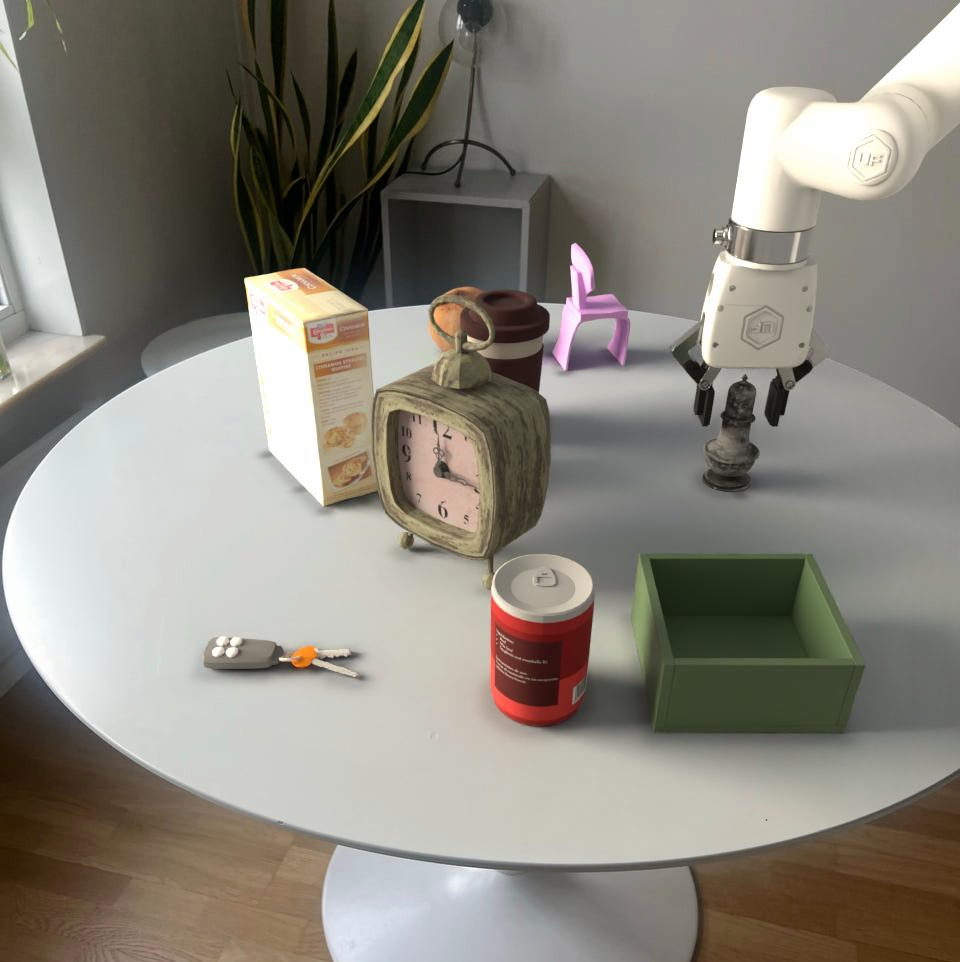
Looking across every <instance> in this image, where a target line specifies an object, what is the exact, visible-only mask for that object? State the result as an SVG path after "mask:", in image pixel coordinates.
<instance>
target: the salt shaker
mask: <svg viewBox="0 0 960 962" xmlns="http://www.w3.org/2000/svg"><path fill="white" fill-rule="evenodd" d="M740 378H741V380H739V381H736V382H733V383H731V385H730V386H729V388H728V390H727V394H726V395H727V396H726V401H725V409H724V410H723V411H722V412H720V413H719V418H720V419H721V426H720V432H719V434H718V437H715V438H712V439H709V440H708V441H707V442H705V443H704V445H703V452H704V453H705V461H706V463H707V466H708V469H706V470H704V471H703V472H702V474H701V480H702V482H703V484H705V485H706V486H708V487H709V488H711V489H714V490H716V491H721V492H725V493H726V492H727V493H735V492H742V491H745V490H747V489H749V488H750V487H751V485H752V478H751V477H750V475H749V474H748V472H749V471H751V470H752V468H753V467H754V465H755V463H756V461H757V460H758V459H759V458H760V456H761V451H760V449H759V447H758V446H757V445H755V443H753V442H751V441H750V434H751V428H752V424H753V423H754V422H755V421H756V416H755V414H754V409H755V408H754V407H755V403H756V397H757V388H756V387H755V385H754V384H753V383H752V382H749V381H748V380H749V377H748V375H747V374H746V373H745V374H743V375H742V376H741V377H740Z"/></svg>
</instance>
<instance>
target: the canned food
mask: <svg viewBox="0 0 960 962" xmlns="http://www.w3.org/2000/svg"><path fill="white" fill-rule="evenodd" d="M494 573H495V574H494V576H493V580H492V587H491V590H490V676H489V677H490V681H489V682H490V693H491V695H492V698H493V701H494V703H495V705H496V707H497V709H498V710H499V711H500V712H501V713H502V714H503V715H504V716H505V717H507V718H509V719H510V720H512V721H514V722H516V723H519V724H522V725H527V726H533V727H548V726H554V725H558V724H560V723H562V722H563V723H564V721H567V720H568V719H570V718H571V717H573V715H575V714H576V713H577V712H578V710H579V709H580V707H581V706H582V703H583V701H584V699H585V696H586V690H587V681H588V672H589V671H588V670H589V661H590V652H591V651H590V650H591V642H592V640H591V639H592V631H593V621H594V609H595V597H596V588H595V587H596V586H595V585H596V584H595V579H594V577H593V576H592V574H591V572H590V571H589V570H588V569H587V568H586V567H585V566H583V565H582V564H581V563H579V562H577V561H575V560H573V559H571V558H568V557H565V556H562V555H558V554H557V555H556V554H551V553H531V554H525V555H520V556H518V557H515V558H512V559H510V560H508V561H506V562H505V563H503V564H501V566H500V567H499V568H497V570H496V571H495V572H494Z"/></svg>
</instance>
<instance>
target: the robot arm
mask: <svg viewBox="0 0 960 962" xmlns="http://www.w3.org/2000/svg"><path fill="white" fill-rule="evenodd" d="M745 119H746V120H745V125H744V133H743V140H742V145H741V152H740V158H739V165H738V171H737V179H736V185H735V192H734V198H733V204H732V211H731V216H730V217H729V218H728V223H726V226H722V227H721V228H713V232H712V244H713V245H720V246H721V247H722V246H723V247H724V248H725V249H726V250H722V251H720V252H719V253H718V256H717V258H716V261H715V264H714V267H713V270H712V272H711V276H710V280H709V283H708V287H707V291H706V294H705V298H704V302H703V306H702V311H701V315H700V320H699V321H698V322H697V323H695V324H694V325H693V326H692V327H690V328H689V329H688V330H687V331H686V332H684V333H683V334H682V335H681V336H679V338H678V339H676V340H675V341H673V343H672V344H670V346H669V351H670V353H671V356H672V357H673V358H674V359H675V361H677V363H678V364H679V365H680V366H681V367H682V368H683V370H684V371H685V372H686V374H687V375H688V376H689V377H690V378H691V379H692V380H693V381H694V382H695V384H696V389H695V395H694V403H693V414H694V416H697V417H698V420H699V422H700V425H701V427H703V428H705V427H706V428H708V427H709V426H710V425H711V420H712V415H713V408H714V402H715V395H716V391H715V388H714V386H713V385H714V382H715V380H716V378H717V377H718V375H719V374H720V373H721V370H722V369H728V370H729V369H734V370H735V369H738V370H740V369H742V370H775V373H776V376H775V377H774V378H772V379H771V381H770V382H769V387H768V392H767V397H766V401H765V402H766V403H765V407H764V417H765V418H766V419H765V420H766V421H767V423H768V424H769V426H771V427H773V428H778V427H779V424H780V418H781V416H785V414H786V409H787V404H788V400H789V395H790V391H792V390H793V389H794V388H795V387H796V385H797V383H798V382H800V381H801V380H802V379H804V377H806V376H807V375H808V374H810V373H811V372H812V370H813V368H814V367H816V366H818V365H819V364H821V363H822V362H823V361H824V360H825V359H826V358H827V357H829V356H830V355H831V349H830V347H829V346H828V344H827V343H826V342H825V341H824V340H823V339H822V337H821V336H820V335H819V334H818V332H816V331H815V329H814V327H813V324H814V318H815V317H814V315H815V308H816V300H817V299H816V298H817V284H818V260H817V259H816V258H815V257H813V256H812V255H811V254H810V253H811V249H812V243H813V239H814V235H815V229H816V224H817V220H818V215H819V210H820V204H821V201H822V196H823V192H826V193H829V194H833V195H836V196H838V197H842V198H846V199H850V200H854V201H861V202H875V201H881V200H884V199H887V198H890V197H893V196H894V195H895V194H898V193H899V192H900V191H901V190H903V189H904V188H905V187H906V186H907V185H908V184H909V183H910V182H911V181H912V180H913V178H914V177H915V175H916V174H917V172H918V171H919V169H920V167H921V165H922V162H923V161H924V158H925V157H926V155H927V154H928V152H930V151H931V150H932V149H933V148H934V147H935V146H937V144H938V143H940V142H941V140H943V139H944V138H945V137H946V136H948V134H950V133H951V132H952V131H953V130H954V129H955V128H956V127H957V126H959V125H960V2H959V3H958V4H957V5H956V6H955V7H954V8H953V9H952V10H951V11H950V12H949V13H948V14H947V15H946V16H945V17H944V18H943V19H942V20H941V21H940V22H939V23H938V24H937V25H936V26H935V27H933V29H932V30H931V31H930V32H929V33H928V34H927V35H926V36H925V37H923V39H922V40H921V41H919V43H918V44H916V46H915V47H914V48H912V49H911V51H910V52H909V53H907V54H906V55H905V56H904V57H903V58H902V59H901V60H900V61H899V62H898V63H897V64H896V65H895V66H894V67H893V68H892V69H891V70H890V71H889V72H887V73H886V74H885V76H883V77H882V78H881V79H880V80H879V81H878V82H876V84H875V85H874V86H873V87H872V88H871V89H869V90H868V92H866V93H865V94H864V96H862V97H861V99H859V100H858V101H854V102H838V101H837V98H836V97H835V96H834V95H833V94H832V93H830V92H828V91H826V90H823V89H818V88H814V87H807V86H775V87H770V88H766V89H763V90H761V91H759V92H758V93H756V94H755V95H754V97H753V98H752V99H751V101H750V104H749V106H748V109H747V114H746V118H745ZM696 346H698V349H700V350H701V356H702V359H701V361H700V363H699V362H698V361H697V360H696V359H695V358H694V357H693V356H692V355H691V354H690V351H691V350H692V349H693V348H694V347H696Z"/></svg>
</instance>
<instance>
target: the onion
mask: <svg viewBox="0 0 960 962" xmlns="http://www.w3.org/2000/svg"><path fill="white" fill-rule="evenodd" d="M484 292H485V291H484V290H483V289H481V288H478V287H473V286H462V287H455V288H453V289H451V290H449V291H447V292H445V293H444V294H443V295H445V294H453V295H459V296H462V297H466V298H468V299H470V300H472V301H474V299H475V298H476V297H477V296H478V295H480V294H481V293H484ZM464 308H465V306H462V305H459V304H455V303H447V302H446V303H442V304H440V305H439V306H438V307H437V308H436V309H435V311H434V319H435V322H436V324H437V325H438V326H439V327H440V328H441V329H442V330H443V331H445V332H446V333H448V334H449V335H451V336H453V337H455V333H456V332H457V331H458V330H461V327H460V314H461V311H462V310H463V309H464ZM428 331H429V334H430V337H431V339H432V340H433V342H434V343H435V345H436V346H437V348H439V349H440V350H441V351H442V353H444V352H446V351H448V350H451V349H455V346H453V345H451V344H449V343H447V342H446V341H444V340H443V339H442V338H441V337H440V336H438V335H437V334H436V332H435V331H434V329H433V328H432V326H431V323H430V321H429V320H428Z"/></svg>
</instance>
